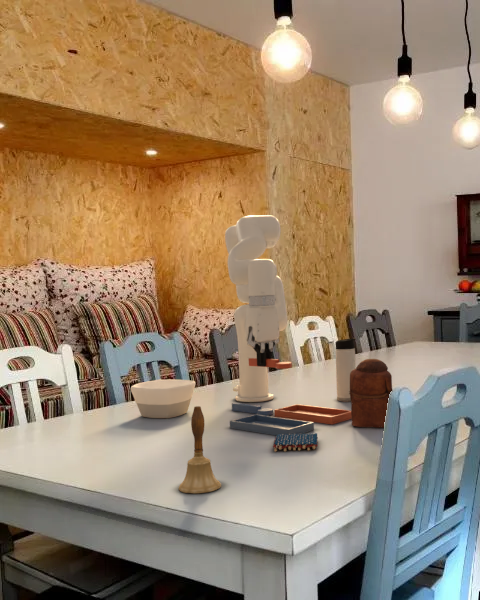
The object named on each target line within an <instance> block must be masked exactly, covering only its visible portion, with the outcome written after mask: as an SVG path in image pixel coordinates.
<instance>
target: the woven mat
mask: <svg viewBox="0 0 480 600" xmlns="http://www.w3.org/2000/svg"><path fill="white" fill-rule="evenodd" d="M318 439H319V437H318V433H317V432H314V433H313V432H312V433H311V432H309V433H302V434H291V435H290V434H289V435H287V434H285V435H283V434H282V435H281V434H279V435H277V436H276V437H274V441H273V445H272V447H273V451H274V452H277V451H278V450H279V451H280V450H283V452H287V449H288V450H289V451H291V450H293V451H296V450H297V451H301V450H305V449H307V451H311V449H312V450H315V449H316V447H318V443H319V442H318Z"/></svg>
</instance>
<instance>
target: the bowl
mask: <svg viewBox="0 0 480 600" xmlns="http://www.w3.org/2000/svg"><path fill="white" fill-rule="evenodd" d="M195 387H196V381H195V380H190V379H155V380H148V381H144V382H139V383H136V384H133V385H131V387H130V392H131V394H132V397H133V400H134V401H135V403H136V406H137V409H138V410H139V413H140V416H141V417H142V418H147V419H172V418H177V417H180V416H183V415H185V414H186V413H188V411H189V408H190V405H191V400H192V398H193V394H194V391H195Z"/></svg>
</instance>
